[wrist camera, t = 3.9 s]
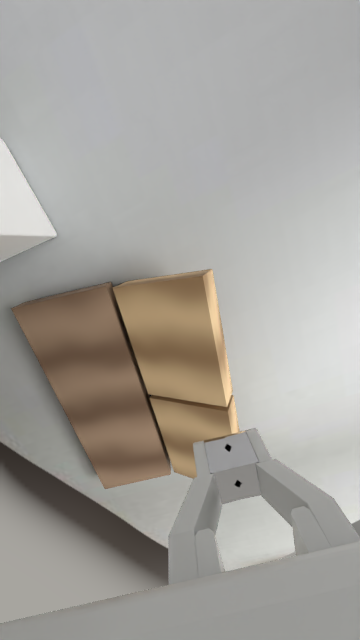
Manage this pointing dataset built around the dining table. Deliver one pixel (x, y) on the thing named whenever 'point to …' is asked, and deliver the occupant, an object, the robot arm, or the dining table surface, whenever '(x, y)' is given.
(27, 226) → the milk carton
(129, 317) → the plank
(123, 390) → the base board
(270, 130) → the dining table surface
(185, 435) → the plank
